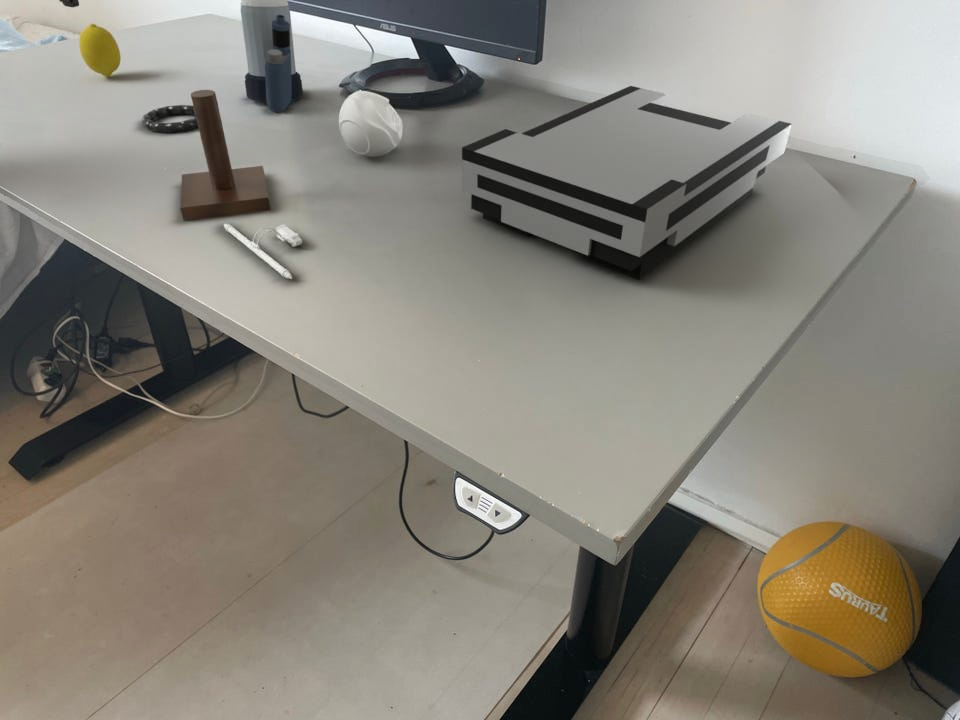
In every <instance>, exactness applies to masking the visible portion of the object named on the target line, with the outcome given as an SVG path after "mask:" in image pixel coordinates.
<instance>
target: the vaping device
mask: <svg viewBox="0 0 960 720" xmlns="http://www.w3.org/2000/svg"><path fill="white" fill-rule="evenodd" d="M276 18H277V20H274V21H272V30H273V31H272V39H273V49H269V50H268V51H267V57H266V64H265V80H266V99H267V101H266V105H267V108H268V109H269V110H270V111H271V112H276V113H282V112H284V111H285V110H286V109H287V108H288V106H289V105H290V104H291V103H292V101H293V100H291V97H292V81H291V79H292V78H291V51H290V30H289V29H290V24H289V23H288V22H287V21H285V17H284V16H283V15H277V16H276Z"/></svg>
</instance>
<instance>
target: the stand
mask: <svg viewBox="0 0 960 720" xmlns="http://www.w3.org/2000/svg"><path fill="white" fill-rule="evenodd" d="M190 99H191V103H192V106H193V107H194V111H195V115H194V116H195V117H196V120H197V124H198V127H197V129H198V131H199V137H200V142H201V144H202V148H203V152H204V153H203V154H204V157H205V161H206V162H205V163H206V166H207V169H208V171H201V172H193V173H183V174H181V183H180V185H181V186H180V202H179V210H180V213H181V217H182V220H183V221H184V222H185V221H193V220H201V219H209V218H216V217H226V216H233V215H240V214H241V215H243V214H250V213H259V212H265V211H266V212H267V211H271V210H272V209H271V202H270V197H269V191H268V185H267V180H266V174H265V168H264V165H257V166H248V167H237V168H232V164H231V159H230V155H229V149H228V145H227V141H226V136H225V132H224V128H223V123H222V121H223V120H222V117H221V112H220V108H219V103H218V99H217V94H216V91H214V90H212V89H200V90H195V91H192V92H190Z"/></svg>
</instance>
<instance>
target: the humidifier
mask: <svg viewBox="0 0 960 720" xmlns="http://www.w3.org/2000/svg"><path fill="white" fill-rule="evenodd" d="M289 5H290V4H289V2H288V0H240V5H239V6H240V17H241V24H242V25H241V26H242V33H243V40H244V48H245V56H246V63H247V71H248V72H247V73H246V74H245V75H244V79H245V81H244V86H245V94H246V98H247V99H249V100H253V101H258V102H267V99H266V80H265V64H266V57H267V51H268V50H269V49H273V39H272V31H273V30H272V21H274V20H277V18H276V16H277V15H283V16H284V17H285V21H287V22H288V23H289V24H290V29H289V30H290V51H291V78H292V79H291V81H292V97H291V100H292V101H294V100H295V101H296V100H298V99H301V98H302V97H304V89H303V81H302V79H301V78H302V77H301V74H300V73H298V71H297V67H296V58H295V49H294V37H293V27H292V18H291V10H290V6H289Z"/></svg>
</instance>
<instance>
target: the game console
mask: <svg viewBox="0 0 960 720" xmlns="http://www.w3.org/2000/svg"><path fill="white" fill-rule="evenodd" d="M667 99H668V94H667V93H664V92H659V91H654V90H651V89H646V88H642V87H638V86H634V85H629V86H627V87H624V88H622V89H620V90H617V91H616V92H613V93H611V94H608V95H606V96H604V97H602V98H599V99H597V100H595V101H591V102H590V103H588V104H586V105H583V106H581V107H578V108H577V109H574V110H572V111H570V112H567V113H565V114H562V115H560V116H558V117H555V118H553V119H550V120H549V121H547V122H544V123H542V124H540V125H537V126H535V127H533V128H531V129H528V130H526V131H523V132H518V131H517V132H516V131H514V130H511V129H507V128H504V129H502V130H500V131H497V132H495V133H492V134H491V135H488V136H486V137H483V138H481V139H478V140H476V141H473V142H471V143H469V144H467V145H464V146H462V147H461V191H463V192H464V193H468V194H470V198H471V199H470V203H471V206H470V209H471V210H473V211H476V212H478V213H481V214H482V219H483V220H486V221H489V222H491V223H494V224H497V225H499V226H501V227H504V228H506V229H508V230H511V231H514V232H516V233H519V234H522V235H525V236H527V237H528V236H530V235H531V234H532V235H534V236H537V237H539V238H541V239H544V240H547V241H549V242H552V243H554V244H557V245H559V246H561V247H565V248H567V249H570V250H572V251H576V252H578V253H579V254H583V255H585V259H586V260H588V261H590V262H592V263H595V264H598V265H600V266H602V267H605V268H608V269H611V270H613V271H616V272H618V273H621V274H623V275H626V276H629V277H631V278H633V279H636V280H638V281H641V280H642V279H643V278H644V277H645V276H647V275H648V274H649V273H650V272H652V271H653V270H654V269H656V268H657V267H658V266H660V265H661V264H662V263H664V262H665V261H666V260H668V259H669V258H670V257H672V256H673V255H674V254H675V253H677V252H678V251H679V250H681V249H682V248H683V247H685V246H686V245H687V244H689V243H690V242H691V241H693V240H694V239H695V238H697V237H698V236H699V235H700V234H702V233H703V232H705V231H706V230H707V229H709V228H710V227H711V226H712V225H714V224H715V223H716V222H717V221H719V220H720V219H721V218H723V217H724V216H726V215H727V214H728V213H729V212H731V211H732V210H734V208H736V207H738V206H739V205H740V204H741V203H742V202H744V201H745V200H746V199H749V197H751V196H752V195H753V190H754V187H755V185H756V182H757V181H756V180H757V179H758V178H760V177H761V176H763V175H764V174H765V173H766V170H767V166H768V165H769V164H771V163H772V162H773V161H775V160H776V159H778V158H779V157H781V156H782V155H783V154H784V153H785V151H786V148H787V143H788V141H789V136H790V133H791V129H792V125H793V123H791V122H786V121H781V120H777V119H774V118H769V117H766V116H761V115H756V114H753V113H746V114H744V115H742V116H741V117H739V118H737V119H736V120H734V121H733V122H730V121H727V120H722V119H718V118H714V117H711V116H706V115H702V114H698V113H695V112H690V111H686V110H682V109H679V108H678V109H677V108H673V107H670V106H666V104H667Z"/></svg>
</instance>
